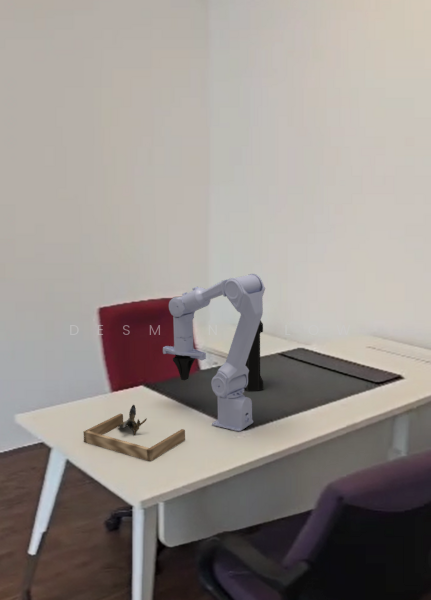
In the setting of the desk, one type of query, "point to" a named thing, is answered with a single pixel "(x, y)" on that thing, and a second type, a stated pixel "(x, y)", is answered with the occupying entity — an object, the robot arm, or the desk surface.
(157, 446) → the box
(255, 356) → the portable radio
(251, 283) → the robot arm
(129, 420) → the eagle figurine
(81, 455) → the desk surface
